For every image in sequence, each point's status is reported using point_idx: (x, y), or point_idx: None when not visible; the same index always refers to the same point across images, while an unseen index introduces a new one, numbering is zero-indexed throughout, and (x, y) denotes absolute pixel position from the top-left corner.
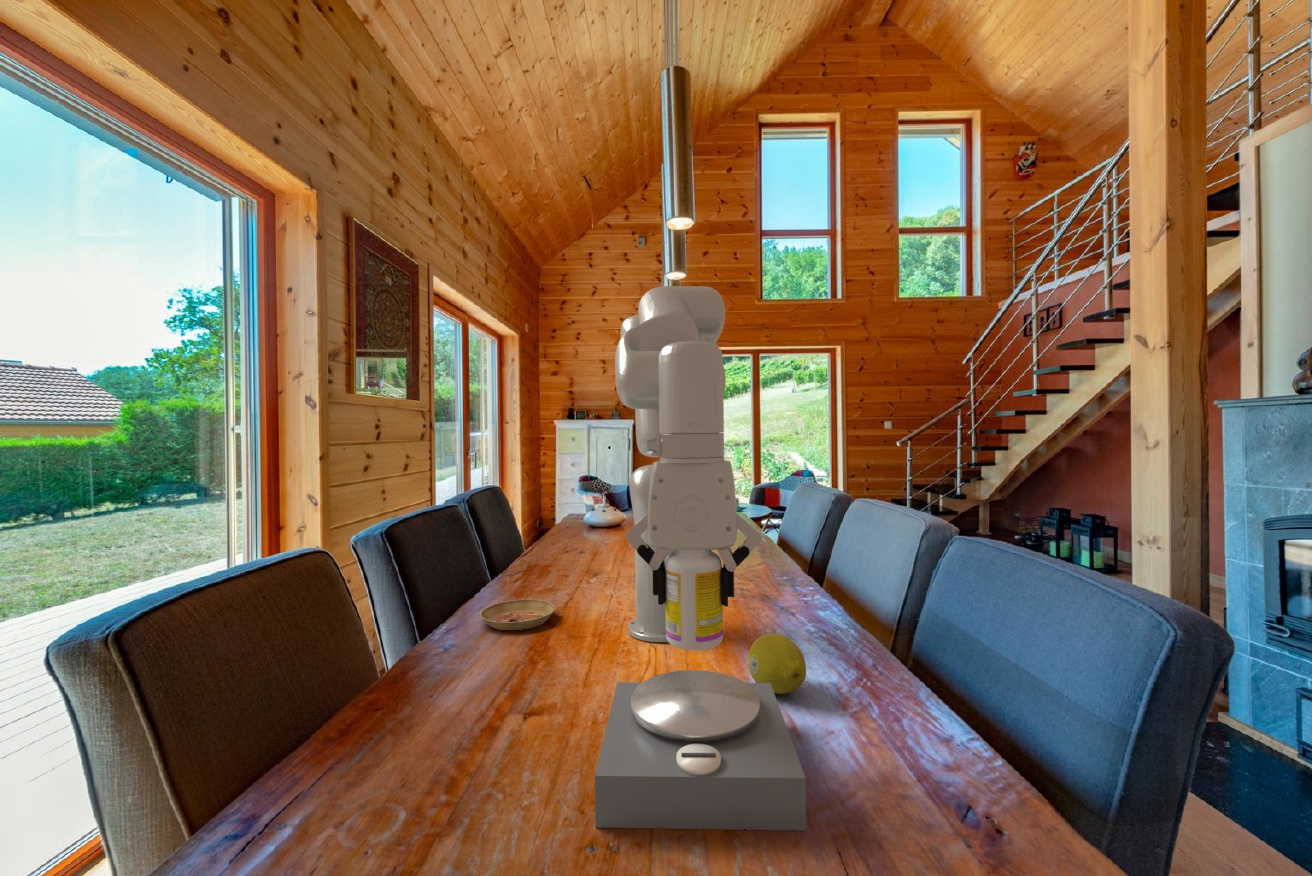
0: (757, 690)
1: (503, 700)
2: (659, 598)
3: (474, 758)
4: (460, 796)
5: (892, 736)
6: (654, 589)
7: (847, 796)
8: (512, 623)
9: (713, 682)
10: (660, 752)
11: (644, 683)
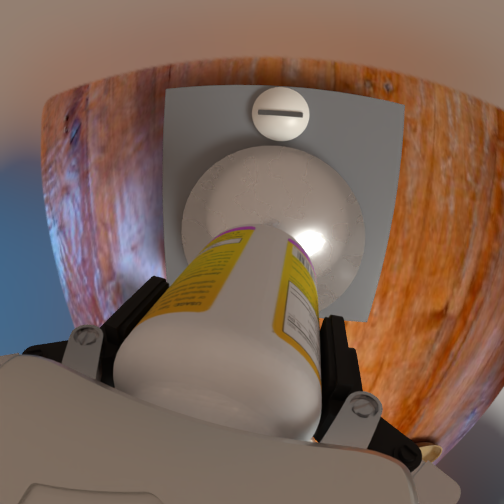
0: None
1: (457, 338)
2: (340, 324)
3: (488, 240)
4: (493, 183)
5: (90, 236)
6: (351, 355)
7: (141, 145)
8: (422, 446)
9: None
10: (328, 138)
11: (339, 291)
